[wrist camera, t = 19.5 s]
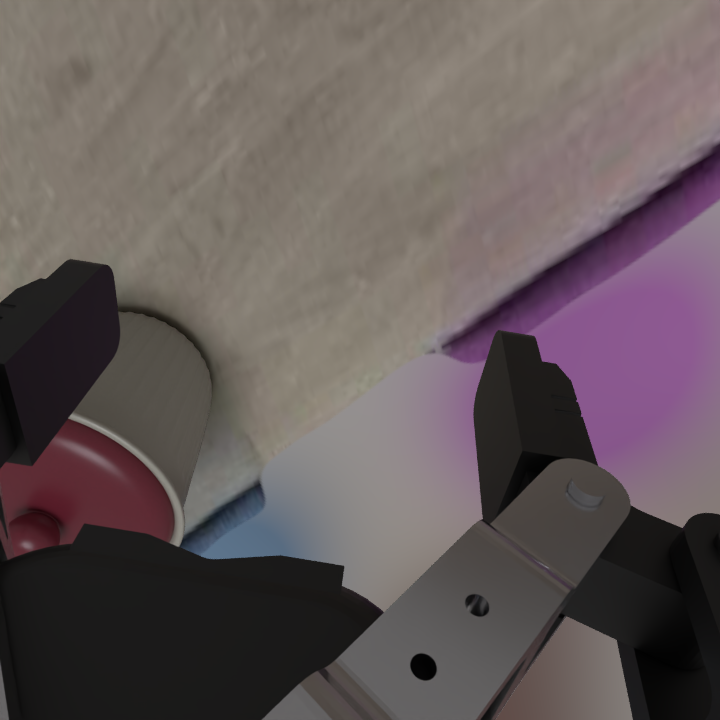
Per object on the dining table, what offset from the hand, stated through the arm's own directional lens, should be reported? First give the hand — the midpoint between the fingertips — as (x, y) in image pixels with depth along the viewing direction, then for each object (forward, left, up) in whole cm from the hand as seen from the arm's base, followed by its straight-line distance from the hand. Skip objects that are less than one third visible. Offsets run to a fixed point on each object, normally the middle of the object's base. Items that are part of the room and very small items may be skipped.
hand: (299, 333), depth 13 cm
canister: (-18, -28, -32) cm, 46 cm away
